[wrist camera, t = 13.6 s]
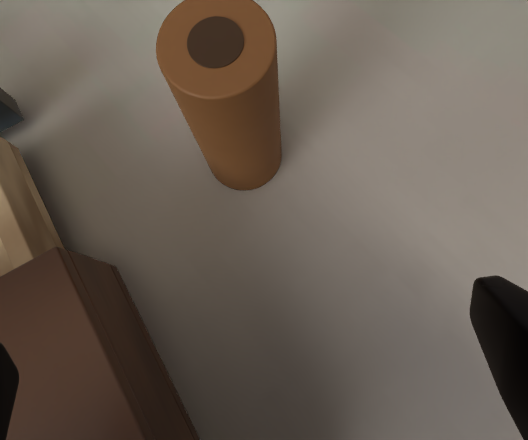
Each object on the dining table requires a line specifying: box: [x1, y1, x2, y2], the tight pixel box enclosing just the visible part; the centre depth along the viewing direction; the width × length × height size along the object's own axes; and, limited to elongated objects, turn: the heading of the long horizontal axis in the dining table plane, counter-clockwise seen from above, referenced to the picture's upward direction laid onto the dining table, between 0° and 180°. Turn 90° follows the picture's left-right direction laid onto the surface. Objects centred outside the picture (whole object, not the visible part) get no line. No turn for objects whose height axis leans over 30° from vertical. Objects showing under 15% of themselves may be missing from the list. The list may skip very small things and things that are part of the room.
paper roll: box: [156, 0, 281, 190], centre depth 18 cm, size 3×3×9 cm
